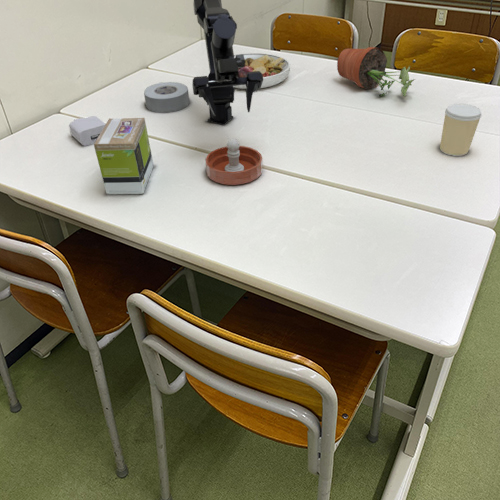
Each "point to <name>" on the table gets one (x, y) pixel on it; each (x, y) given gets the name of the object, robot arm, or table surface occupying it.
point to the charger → (86, 129)
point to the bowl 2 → (251, 171)
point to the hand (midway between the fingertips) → (232, 113)
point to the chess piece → (233, 157)
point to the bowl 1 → (264, 68)
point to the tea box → (124, 156)
